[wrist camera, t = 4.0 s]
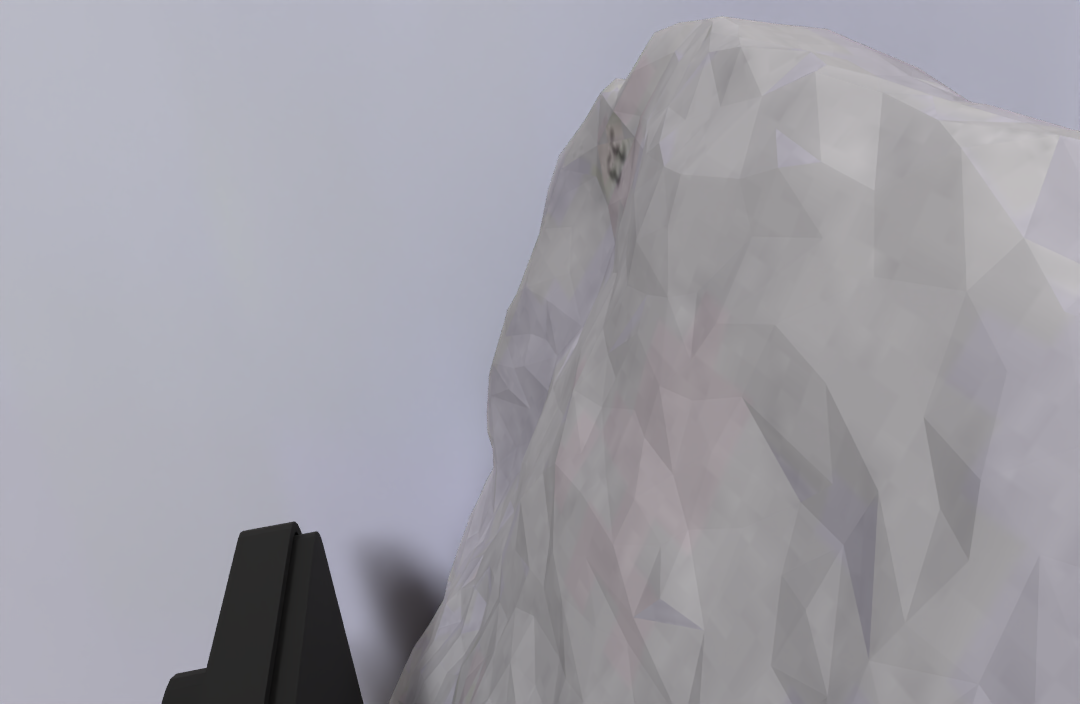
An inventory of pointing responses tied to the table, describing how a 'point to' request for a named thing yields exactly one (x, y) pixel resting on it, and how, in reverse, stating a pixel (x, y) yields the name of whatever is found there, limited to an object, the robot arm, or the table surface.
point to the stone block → (781, 399)
